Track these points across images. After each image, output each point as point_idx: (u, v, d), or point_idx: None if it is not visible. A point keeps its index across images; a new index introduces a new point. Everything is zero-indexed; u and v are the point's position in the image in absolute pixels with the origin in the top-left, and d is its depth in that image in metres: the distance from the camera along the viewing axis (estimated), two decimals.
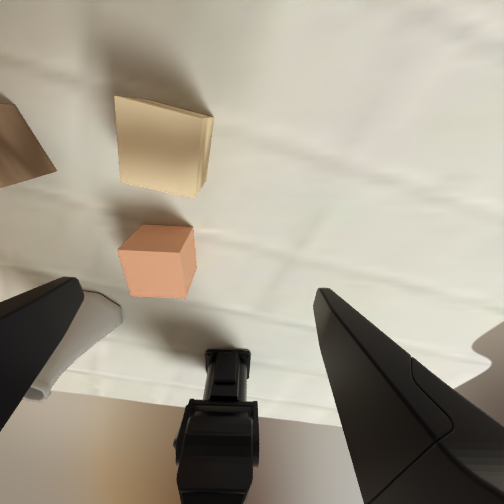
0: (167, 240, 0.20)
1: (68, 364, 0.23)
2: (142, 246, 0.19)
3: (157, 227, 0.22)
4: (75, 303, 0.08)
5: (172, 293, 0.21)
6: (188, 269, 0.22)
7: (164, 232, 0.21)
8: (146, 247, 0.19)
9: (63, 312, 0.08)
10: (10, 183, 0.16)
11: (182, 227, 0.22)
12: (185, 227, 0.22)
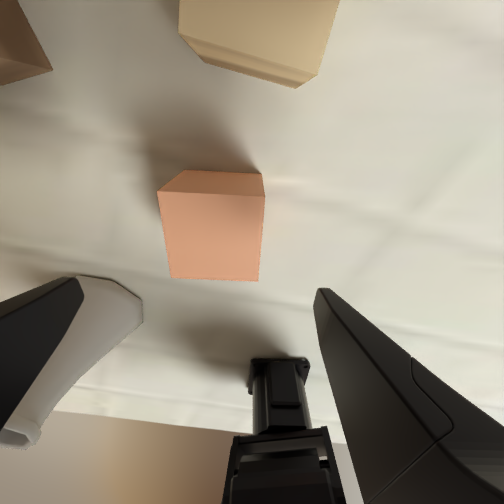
0: (233, 184, 0.12)
1: (69, 385, 0.15)
2: (197, 188, 0.11)
3: (208, 172, 0.14)
4: (75, 303, 0.08)
5: (238, 272, 0.13)
6: None
7: (223, 177, 0.13)
8: (204, 189, 0.11)
9: (63, 312, 0.08)
10: None
11: (246, 173, 0.14)
12: (250, 174, 0.15)
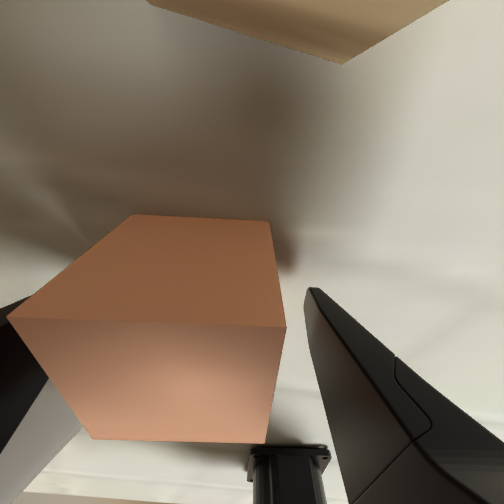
0: (213, 266, 0.06)
1: None
2: (123, 293, 0.05)
3: (174, 222, 0.08)
4: None
5: (225, 434, 0.06)
6: None
7: (197, 236, 0.07)
8: (139, 296, 0.05)
9: None
10: None
11: (242, 222, 0.08)
12: (250, 222, 0.08)
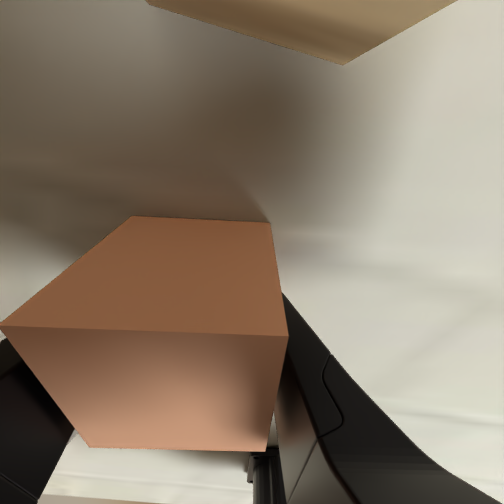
0: (213, 271, 0.06)
1: None
2: (120, 299, 0.05)
3: (173, 225, 0.08)
4: None
5: (225, 442, 0.06)
6: None
7: (196, 239, 0.07)
8: (136, 303, 0.04)
9: None
10: None
11: (242, 225, 0.08)
12: (250, 225, 0.08)
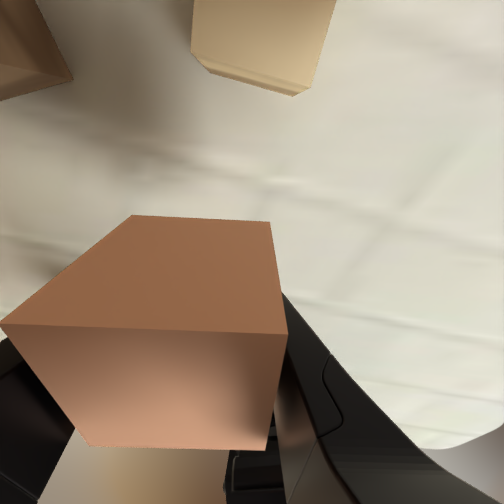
0: (213, 269, 0.06)
1: None
2: (120, 298, 0.05)
3: (173, 224, 0.08)
4: None
5: (225, 441, 0.06)
6: None
7: (196, 238, 0.07)
8: (136, 301, 0.04)
9: None
10: (1, 61, 0.09)
11: (242, 224, 0.08)
12: (250, 224, 0.08)
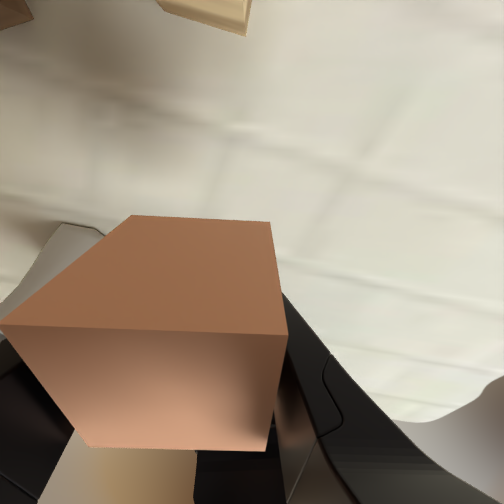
0: (213, 270, 0.06)
1: None
2: (119, 299, 0.05)
3: (172, 224, 0.08)
4: None
5: (225, 442, 0.06)
6: None
7: (196, 239, 0.07)
8: (135, 302, 0.04)
9: None
10: None
11: (242, 224, 0.08)
12: (250, 224, 0.08)
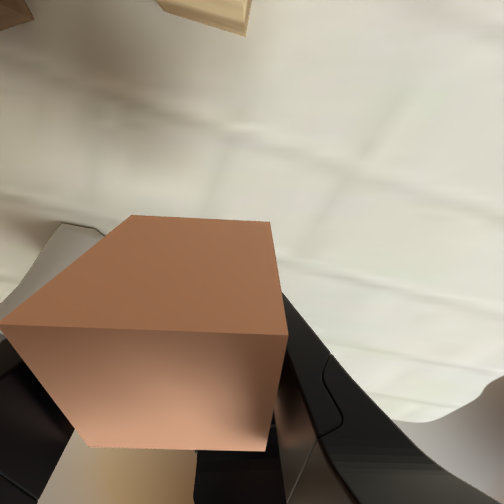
0: (213, 270, 0.06)
1: None
2: (120, 299, 0.05)
3: (172, 224, 0.08)
4: None
5: (225, 442, 0.06)
6: None
7: (196, 239, 0.07)
8: (135, 302, 0.04)
9: None
10: None
11: (242, 224, 0.08)
12: (250, 224, 0.08)
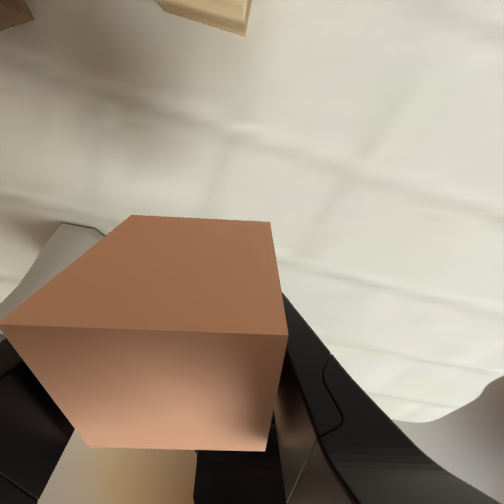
0: (213, 270, 0.06)
1: None
2: (120, 299, 0.05)
3: (172, 224, 0.08)
4: None
5: (225, 442, 0.06)
6: None
7: (196, 239, 0.07)
8: (136, 302, 0.04)
9: None
10: None
11: (242, 224, 0.08)
12: (250, 224, 0.08)
